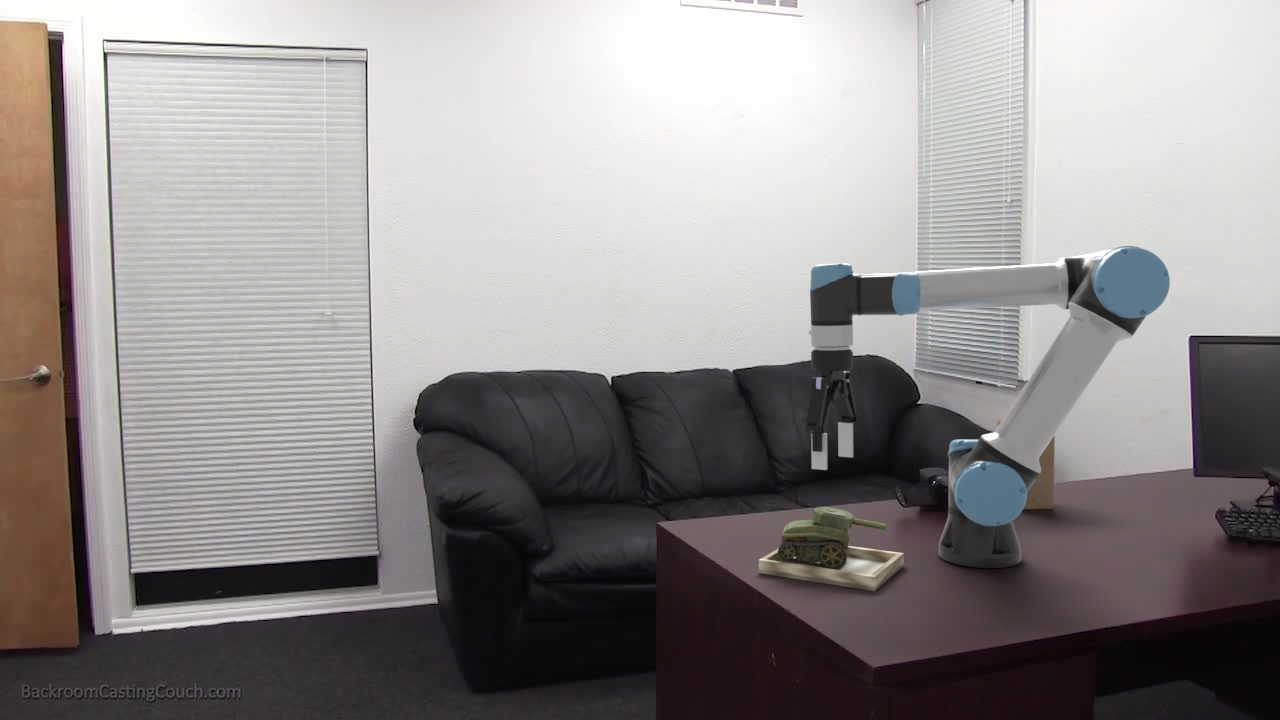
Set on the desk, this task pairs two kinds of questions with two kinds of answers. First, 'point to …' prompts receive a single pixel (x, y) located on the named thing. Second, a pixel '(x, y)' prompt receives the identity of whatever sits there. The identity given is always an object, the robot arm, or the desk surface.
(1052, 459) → the wooden block
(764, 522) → the desk surface
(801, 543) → the toy
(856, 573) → the beige tray
